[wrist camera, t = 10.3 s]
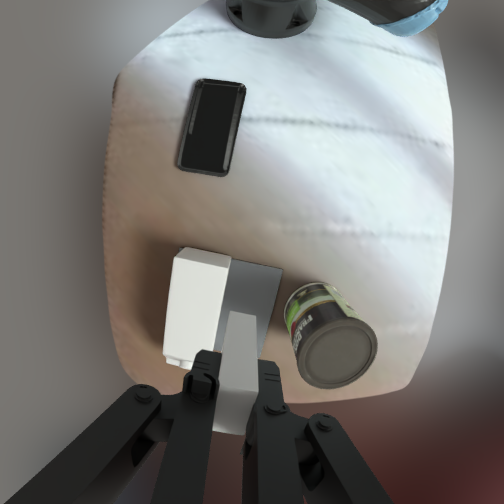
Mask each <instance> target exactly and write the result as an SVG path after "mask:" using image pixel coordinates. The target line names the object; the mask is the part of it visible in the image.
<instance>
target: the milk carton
mask: <svg viewBox="0 0 504 504" xmlns="http://www.w3.org/2000/svg"><path fill="white" fill-rule="evenodd" d="M230 262H231V256H228V255H223V254H218V253H213V252H209V251H204V250H199V249H195V248H190V247H185V248H184V249H183V250H182V251H181V252H179V253H178V254H177V255H176V256H175V257H174V261H173V268H172V275H171V282H170V289H169V297H168V306H167V314H166V324H165V333H164V344H163V355H164V356H166V357H167V360H166V363H169V364H173V365H177V366H179V367H181V368H184V369H188V370H191V369H192V365H193V362H194V359H195V356H196V354H197V353H198V352H199V351H200V350H202V349H204V350H209V351H213V348H214V343H215V338H216V333H217V328H218V322H219V317H220V312H221V307H222V302H223V297H224V292H225V287H226V282H227V277H228V272H229V267H230Z"/></svg>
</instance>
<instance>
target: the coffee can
mask: <svg viewBox="0 0 504 504" xmlns="http://www.w3.org/2000/svg"><path fill="white" fill-rule="evenodd" d="M284 319H285V323H286V325H287V328H288V331H289V335H290V338H291V342H292V346H293V349H294V353H295V356H296V360H297V367H298V371H299V373H300V375H301V377H302V378H303V379H304V380H305V381H306V382H307V383H308V384H310V385H311V386H314V387H316V388H320V389H336V388H341V387H344V386H347V385H349V384H351V383H353V382H355V381H356V380H358V379H359V378H360V377H361V376H363V375H364V374H365V373H366V372H367V371H368V369H369V368H370V367H371V365H372V363H373V362H374V360H375V357H376V354H377V349H378V343H377V338H376V335H375V333H374V331H373V330H372V329H371V327H370V326H369V325H367V324H366V323H365V322H364V321H363V320H362V319H361V318H360V316H359V315H358V314H357V313H356V312H355V311H354V310H353V308H352V307H351V306H350V305H349V304H348V303H347V301H346V300H345V299H344V298H343V297H342V296H341V294H340V293H339V292H338V290H337V289H335V288H334V287H333V286H331V285H329V284H325V283H310V284H307V285H304V286H302V287H300V288H299V289H297V290H296V291H295V292H294V293H293V294H292V295H291V296H290V298H289V299H288V301H287V303H286V305H285V309H284Z"/></svg>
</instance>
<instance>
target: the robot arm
mask: <svg viewBox="0 0 504 504" xmlns="http://www.w3.org/2000/svg"><path fill="white" fill-rule="evenodd" d="M328 1H330V2H332V3H335V4H337V5H339V6H341V7H343V8H345V9H347V10H349V11H351V12H353V13H355V14H357V15H359V16H361V17H363V18H365V19H367V20H369V21H370V23H371V24H373V25H375V26H378V27H381V28H383V29H385V30H386V31H388V32H390V33H392V34H393V35H396V36H402V37H408V36H412V35H415V34H417V33H419V32H421V31H422V30H424V29H425V28H427V27H428V26H429V25H431V24H432V23H433V22H434V21H435V20H436V19H437V18H438V14H439V13H441V12H442V11H443V10H444V9H445V7H446V5H447V3H448V0H328ZM226 6H227V13H228V16H229V18H230V19H231V21H232V22H233V23H234V24H235V25H236V26H237V27H238V28H240V29H241V30H243V31H245V32H247V33H249V34H252V35H255V36H259V37H264V38H286V37H291V36H294V35H297V34H299V33H301V32H303V31H305V30H306V29H307V28H308V27H309V26H310V25H311V24H312V22H313V19H314V17H315V14H316V9H317V5H316V0H226ZM212 430H213V431H219V432H225V433H231V434H238V435H244V434H245V431H246V438H245V441H244V444H243V447H242V449H241V453H240V454H241V455H242V454H243V473H242V504H304V499H303V495H304V497H305V499H306V502H307V503H308V504H394V503H393V501H392V500H391V498H390V497H389V496H388V494H387V493H386V491H385V490H384V488H383V487H382V485H381V484H380V483H379V481H378V480H377V478H376V477H375V475H374V474H373V472H372V471H371V469H370V468H369V466H368V465H367V464H366V462H365V461H364V459H363V458H362V456H361V455H360V453H359V452H358V450H357V449H356V447H355V446H354V444H353V443H352V441H351V440H350V438H349V437H348V435H347V434H346V432H345V431H344V429H343V428H342V426H341V425H340V423H339V422H338V421H337V420H336V418H334V417H332V416H331V415H328V414H324V413H317V414H314V415H312V416H311V417H310V418H309V419H307V418H304V417H301V416H298V415H296V414H294V413H292V412H290V409H289V407H288V405H286V403H285V402H284V399H283V392H282V385H281V378H280V371H279V368H278V366H277V365H276V364H275V362H273V361H266V360H260V359H257V330H256V316H254V315H249V314H244V313H239V312H234V311H230V313H229V318H228V322H227V327H226V332H225V337H224V342H223V347H222V352H221V353H218V352H213V351H209V350H204V349H202V350H200V351H199V352H198V353H197V354H196V356H195V359H194V362H193V365H192V369H191V371H190V372H188V373H187V374H186V375H185V376H184V381H183V390H182V392H180V393H178V394H174V395H161V394H160V393H159V391H158V390H157V389H155V388H154V387H152V386H149V385H145V384H138V385H134V386H132V387H130V388H129V389H128V390H127V391H126V392H125V393H123V394H122V395H121V396H120V397H119V398H118V399H117V400H116V401H115V402H114V403H113V404H112V405H111V406H110V407H109V408H108V409H107V410H106V411H105V412H103V413H102V414H101V415H100V416H99V417H98V418H97V419H96V420H95V421H94V422H93V423H92V424H91V425H90V426H89V427H87V428H86V429H85V430H84V431H83V432H82V433H81V434H80V435H79V436H78V437H77V438H76V439H75V440H74V441H73V442H71V443H70V444H69V445H68V446H67V447H66V448H65V449H64V450H63V451H62V452H60V453H59V454H58V455H57V456H56V457H55V458H54V459H53V460H52V461H51V462H50V463H49V464H47V465H46V466H45V467H44V468H43V469H42V470H41V471H40V472H39V473H38V474H37V475H35V476H34V477H33V478H32V479H31V480H30V481H29V482H28V483H27V484H25V485H24V486H23V487H22V488H21V489H20V490H19V491H18V492H16V493H15V494H14V495H13V496H12V497H11V498H10V499H9V500H8V501H6V502H5V503H4V504H113V503H114V502H115V501H116V500H117V498H118V497H119V496H120V494H121V493H122V492H123V490H124V489H125V488H126V486H127V485H128V484H129V483H130V481H131V480H132V479H133V477H134V476H135V475H136V473H137V472H138V471H139V469H140V468H141V467H142V465H143V464H144V463H145V461H146V460H147V459H148V457H149V456H150V455H151V453H152V452H153V451H154V449H155V448H156V447H157V445H158V443H159V442H160V441H161V442H165V441H166V442H167V446H166V449H165V452H164V456H163V459H162V463H161V467H160V470H159V474H158V478H157V481H156V484H155V488H154V492H153V496H152V499H151V503H150V504H202V502H203V494H204V487H205V480H206V472H207V465H208V457H209V449H210V443H211V436H212Z"/></svg>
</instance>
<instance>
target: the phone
mask: <svg viewBox="0 0 504 504" xmlns="http://www.w3.org/2000/svg"><path fill="white" fill-rule="evenodd" d="M245 95H246V87H245V85H244V84H242V83H236V82H229V81H222V80H214V79H200V80H199V81H198V82H197V83H196V86H195V89H194V93H193V97H192V101H191V104H190V109H189V113H188V117H187V121H186V125H185V130H184V134H183V138H182V143H181V148H180V152H179V157H178V163H177V165H178V167H179V169H180V170H182V171H186V172H193V173H199V174H205V175H212V176H218V177H224V176H226V175H227V174H228V173H229V171H230V166H231V161H232V156H233V151H234V146H235V141H236V136H237V132H238V127H239V122H240V118H241V113H242V109H243V104H244V100H245Z"/></svg>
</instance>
